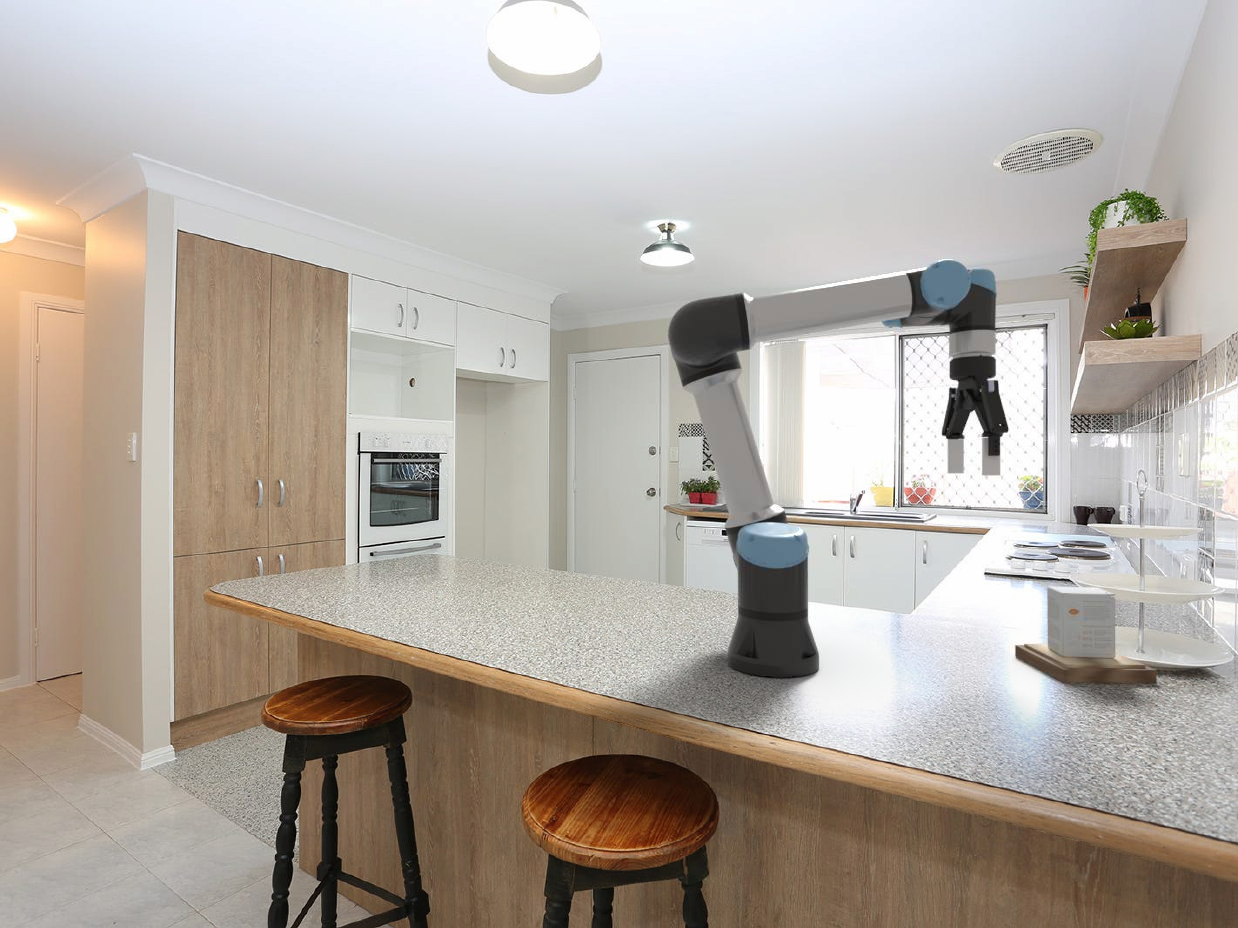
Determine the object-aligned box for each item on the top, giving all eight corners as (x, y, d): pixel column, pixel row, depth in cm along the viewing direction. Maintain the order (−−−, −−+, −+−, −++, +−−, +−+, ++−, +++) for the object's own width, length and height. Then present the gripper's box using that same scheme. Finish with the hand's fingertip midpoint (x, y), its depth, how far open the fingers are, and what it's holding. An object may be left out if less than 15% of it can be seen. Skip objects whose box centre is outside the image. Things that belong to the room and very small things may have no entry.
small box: (1098, 649, 116) (1098, 586, 116) (1116, 659, 111) (1116, 593, 111) (1046, 647, 118) (1046, 585, 118) (1061, 657, 112) (1062, 592, 112)
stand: (1063, 682, 107) (1063, 666, 107) (1015, 656, 121) (1015, 642, 121) (1156, 682, 107) (1156, 666, 107) (1097, 656, 121) (1097, 642, 121)
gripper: (1031, 346, 113) (1031, 476, 114) (961, 365, 138) (962, 472, 139) (985, 346, 114) (985, 476, 114) (923, 366, 139) (923, 472, 139)
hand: (972, 474), depth 126 cm, fingers open, 13 cm apart
